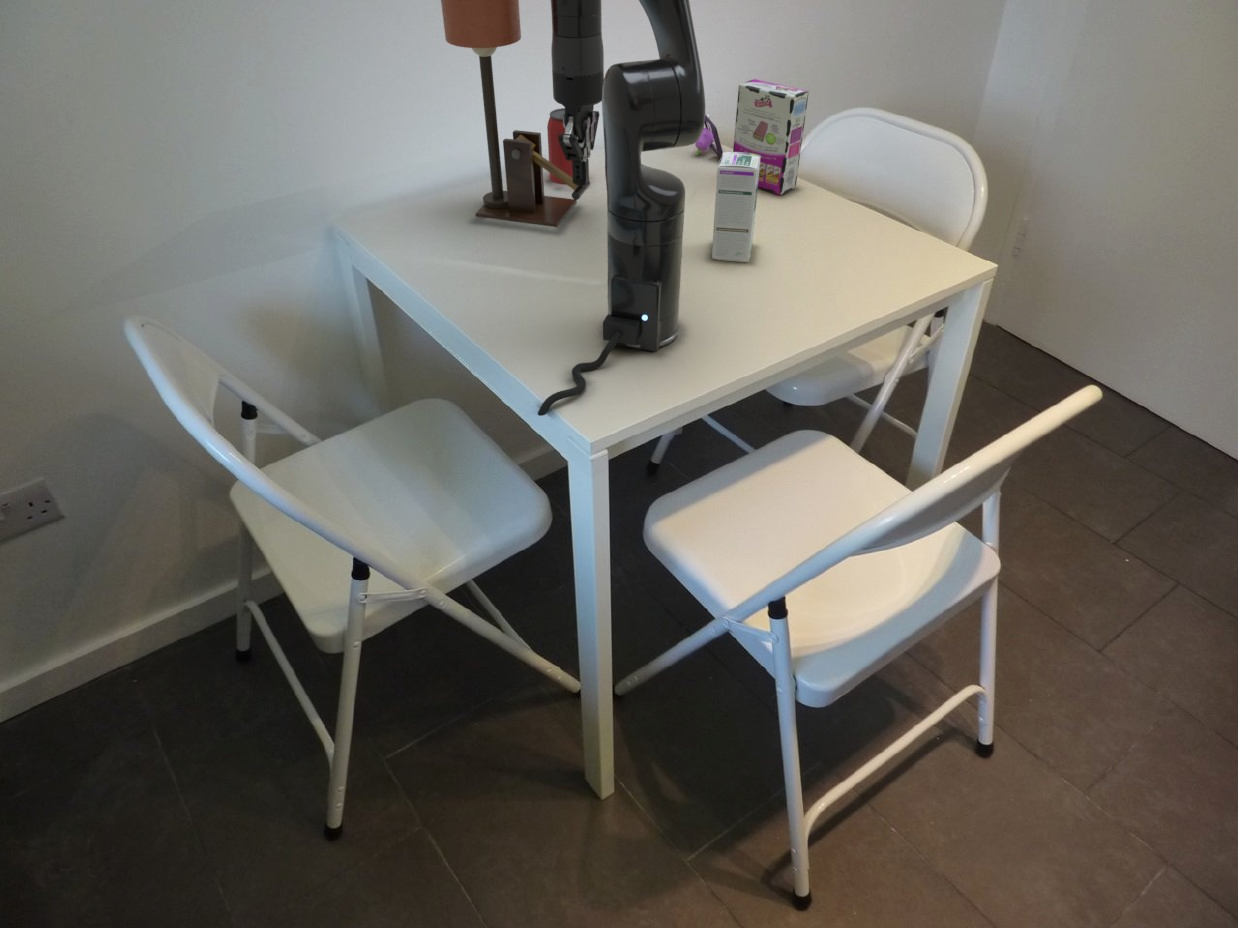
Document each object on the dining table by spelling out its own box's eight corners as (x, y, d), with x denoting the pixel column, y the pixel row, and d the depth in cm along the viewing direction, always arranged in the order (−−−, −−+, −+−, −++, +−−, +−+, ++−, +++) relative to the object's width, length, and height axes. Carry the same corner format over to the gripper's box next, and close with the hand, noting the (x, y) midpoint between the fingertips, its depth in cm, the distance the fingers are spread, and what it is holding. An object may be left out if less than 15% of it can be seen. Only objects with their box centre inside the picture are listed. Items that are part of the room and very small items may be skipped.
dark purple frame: (720, 125, 153) (706, 110, 160) (693, 137, 154) (681, 121, 160) (728, 159, 158) (715, 143, 164) (702, 170, 158) (690, 153, 165)
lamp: (517, 220, 134) (499, -5, 113) (454, 211, 136) (425, -11, 116) (541, 194, 142) (529, -21, 121) (481, 186, 144) (459, -26, 124)
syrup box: (749, 263, 126) (759, 167, 117) (709, 259, 127) (717, 164, 118) (752, 246, 130) (762, 153, 121) (714, 243, 131) (721, 150, 122)
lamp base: (577, 208, 141) (574, 130, 133) (557, 233, 134) (553, 152, 126) (500, 198, 144) (493, 122, 136) (476, 222, 137) (467, 142, 129)
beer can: (544, 187, 148) (540, 117, 140) (557, 173, 153) (554, 105, 145) (579, 192, 147) (577, 121, 139) (591, 178, 151) (590, 109, 144)
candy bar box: (797, 188, 148) (811, 90, 138) (781, 196, 145) (793, 97, 135) (745, 172, 154) (754, 77, 143) (729, 179, 151) (737, 83, 140)
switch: (586, 191, 136) (593, 179, 135) (575, 204, 132) (582, 192, 131) (518, 143, 135) (524, 131, 133) (505, 155, 131) (511, 142, 129)
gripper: (568, 52, 127) (572, 165, 139) (537, 76, 118) (544, 196, 129) (615, 56, 126) (615, 170, 137) (588, 81, 116) (590, 202, 127)
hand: (580, 182), depth 133 cm, fingers closed
